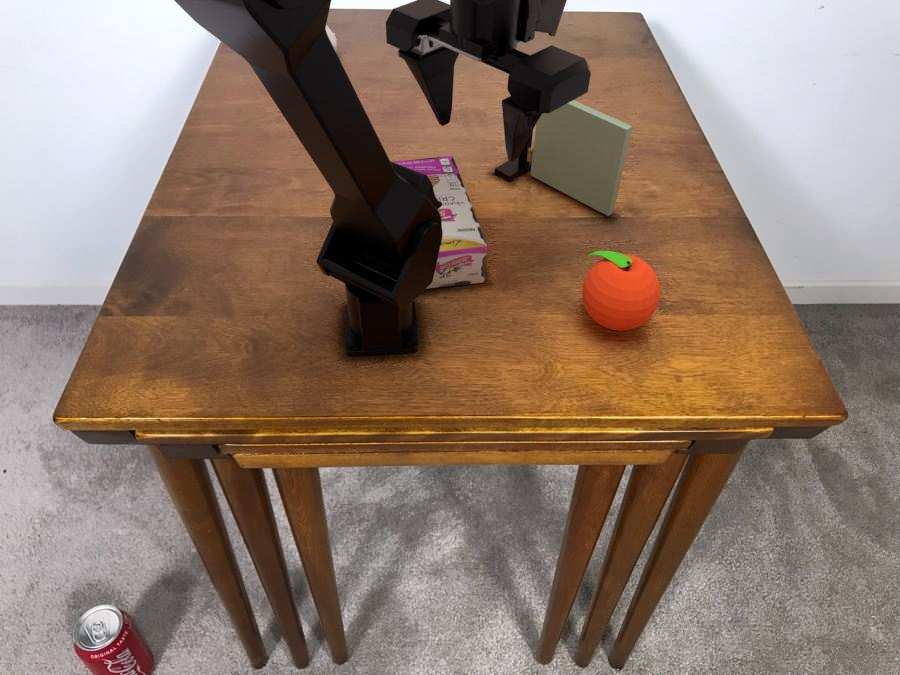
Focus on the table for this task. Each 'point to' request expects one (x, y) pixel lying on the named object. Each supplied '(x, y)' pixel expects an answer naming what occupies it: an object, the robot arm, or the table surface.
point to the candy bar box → (453, 224)
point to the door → (581, 154)
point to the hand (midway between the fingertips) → (478, 141)
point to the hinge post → (517, 164)
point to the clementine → (620, 291)
